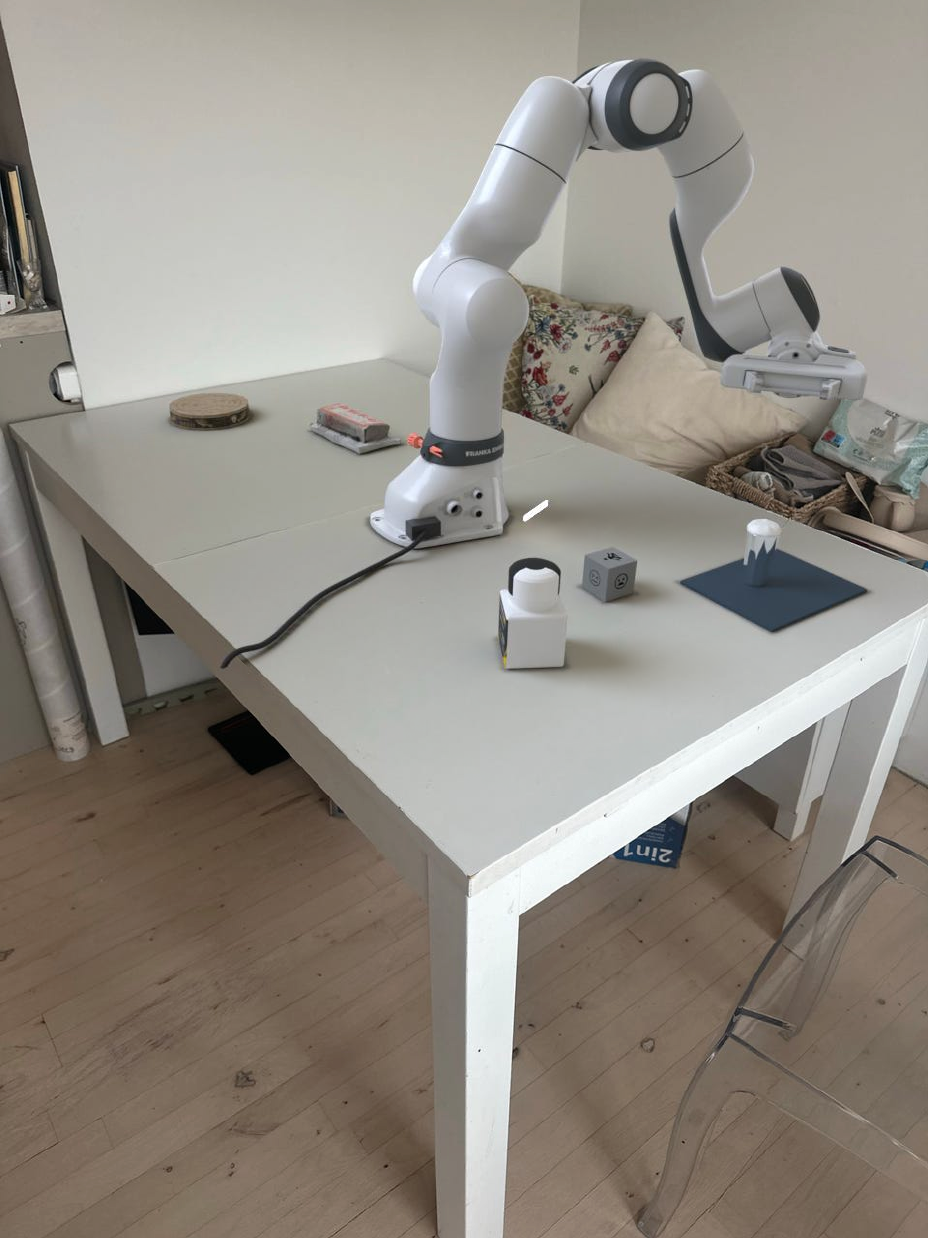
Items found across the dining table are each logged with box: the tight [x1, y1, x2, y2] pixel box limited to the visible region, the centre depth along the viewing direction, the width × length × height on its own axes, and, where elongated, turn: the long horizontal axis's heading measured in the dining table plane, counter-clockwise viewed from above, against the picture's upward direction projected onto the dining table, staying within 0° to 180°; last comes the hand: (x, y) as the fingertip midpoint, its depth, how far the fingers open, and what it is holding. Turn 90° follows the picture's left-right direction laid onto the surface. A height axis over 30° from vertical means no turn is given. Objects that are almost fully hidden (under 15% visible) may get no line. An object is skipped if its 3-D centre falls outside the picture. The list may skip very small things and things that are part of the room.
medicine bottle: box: [497, 557, 569, 670], centre depth 108 cm, size 7×7×12 cm
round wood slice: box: [168, 392, 251, 431], centre depth 188 cm, size 16×16×3 cm
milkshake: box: [742, 517, 791, 587], centre depth 125 cm, size 4×5×10 cm
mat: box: [679, 548, 868, 633], centre depth 127 cm, size 20×16×1 cm
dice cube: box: [581, 546, 638, 603], centre depth 124 cm, size 5×5×5 cm
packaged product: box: [309, 403, 402, 455], centre depth 178 cm, size 18×5×10 cm
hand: (790, 390), depth 128 cm, fingers open, 8 cm apart
